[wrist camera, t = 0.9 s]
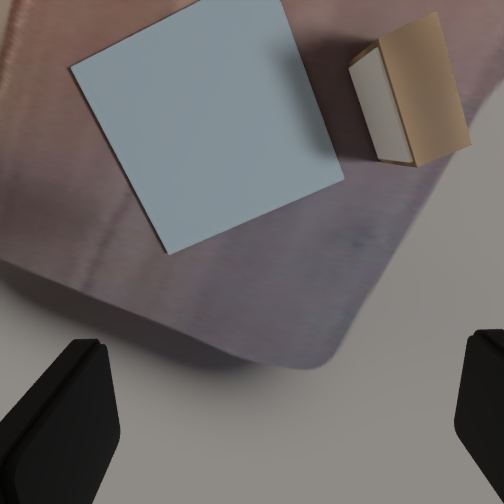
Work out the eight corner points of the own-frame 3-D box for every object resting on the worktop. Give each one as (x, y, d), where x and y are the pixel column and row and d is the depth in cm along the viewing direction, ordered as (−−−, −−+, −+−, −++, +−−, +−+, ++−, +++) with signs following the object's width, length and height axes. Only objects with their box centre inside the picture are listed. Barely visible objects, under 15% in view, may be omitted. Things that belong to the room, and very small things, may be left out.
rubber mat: (267, -31, 26) (267, -34, 26) (343, 178, 30) (344, 178, 30) (73, 68, 28) (70, 67, 28) (170, 253, 32) (168, 255, 32)
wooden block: (391, 42, 28) (436, 10, 21) (421, 144, 30) (471, 144, 23) (345, 64, 28) (374, 39, 21) (378, 163, 30) (414, 169, 24)
